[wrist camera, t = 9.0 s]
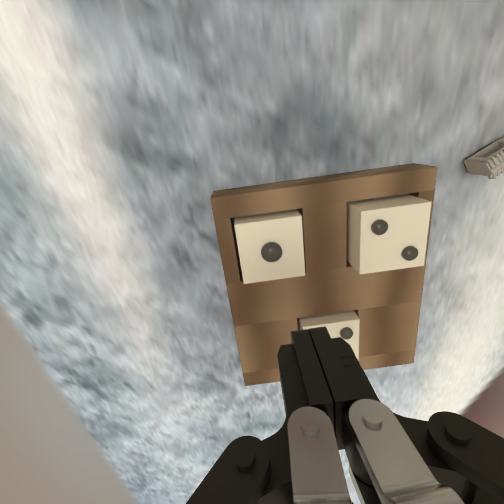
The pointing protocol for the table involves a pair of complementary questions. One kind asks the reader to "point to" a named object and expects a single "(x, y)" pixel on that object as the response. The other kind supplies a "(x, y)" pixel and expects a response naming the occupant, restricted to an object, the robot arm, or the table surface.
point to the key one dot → (270, 245)
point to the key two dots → (387, 233)
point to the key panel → (322, 269)
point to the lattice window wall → (487, 160)
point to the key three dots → (336, 326)
